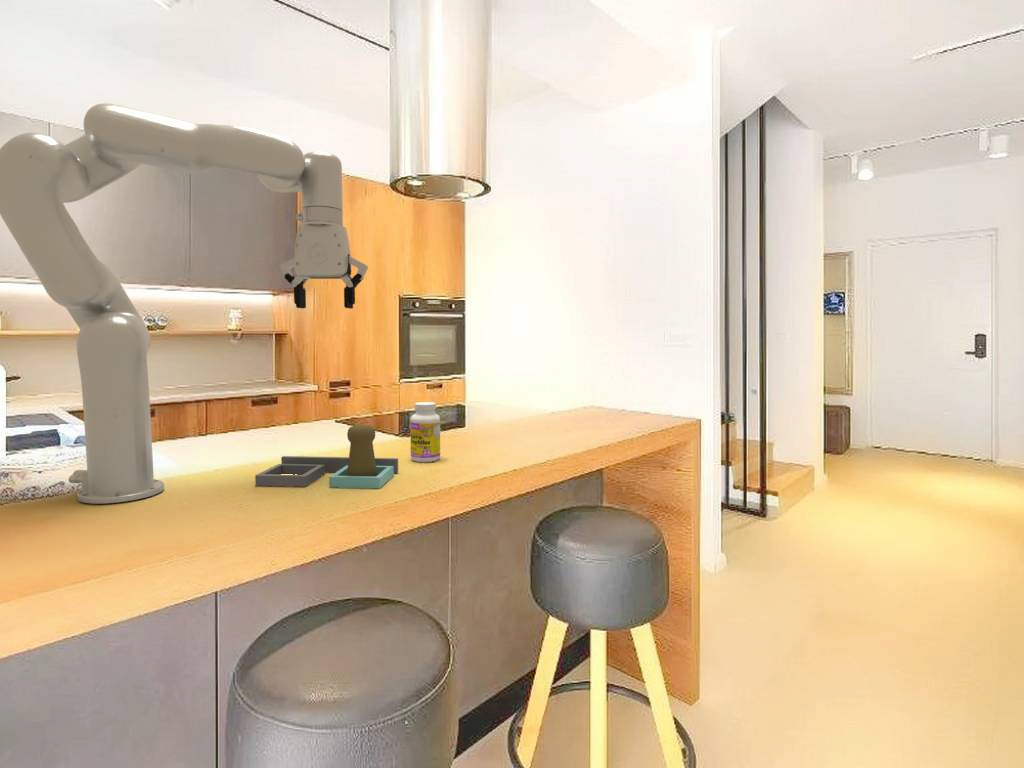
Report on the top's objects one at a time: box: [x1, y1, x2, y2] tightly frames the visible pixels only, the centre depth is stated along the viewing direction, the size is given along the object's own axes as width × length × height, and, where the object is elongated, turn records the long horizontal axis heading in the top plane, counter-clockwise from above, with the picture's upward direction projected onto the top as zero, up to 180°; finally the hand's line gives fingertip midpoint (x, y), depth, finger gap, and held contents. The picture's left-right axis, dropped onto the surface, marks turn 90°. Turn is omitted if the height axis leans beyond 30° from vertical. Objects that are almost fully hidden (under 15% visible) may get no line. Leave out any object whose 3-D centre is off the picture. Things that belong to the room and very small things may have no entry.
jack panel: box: [254, 455, 399, 489], centre depth 112 cm, size 24×12×3 cm, turn 87°
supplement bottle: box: [409, 401, 441, 463], centre depth 130 cm, size 7×7×13 cm
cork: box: [346, 423, 377, 476], centre depth 110 cm, size 6×6×11 cm
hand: (324, 308), depth 114 cm, fingers open, 9 cm apart
